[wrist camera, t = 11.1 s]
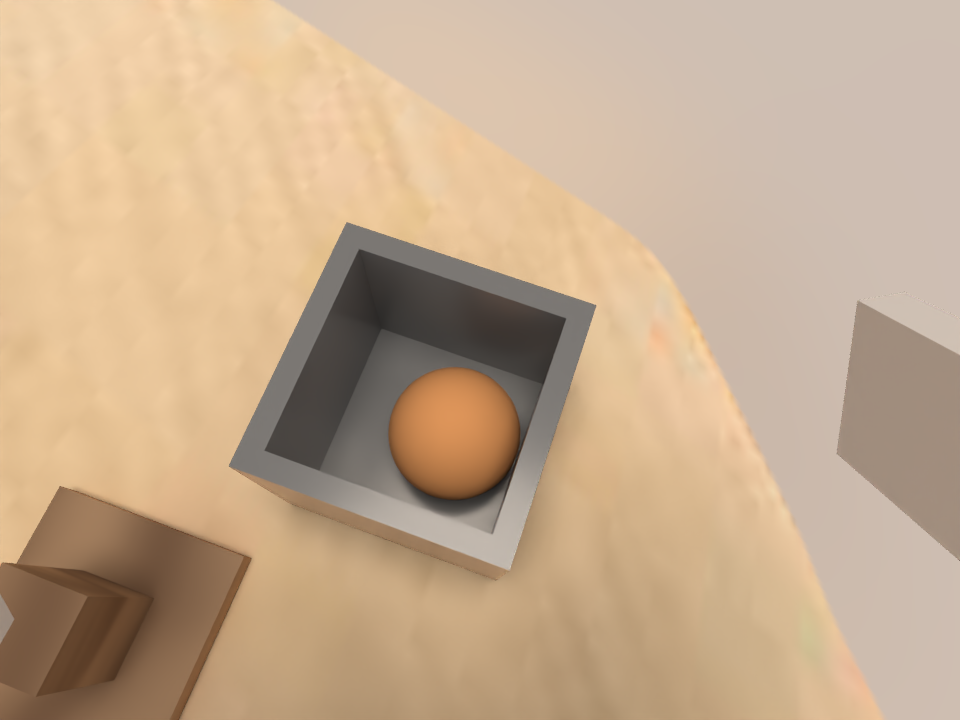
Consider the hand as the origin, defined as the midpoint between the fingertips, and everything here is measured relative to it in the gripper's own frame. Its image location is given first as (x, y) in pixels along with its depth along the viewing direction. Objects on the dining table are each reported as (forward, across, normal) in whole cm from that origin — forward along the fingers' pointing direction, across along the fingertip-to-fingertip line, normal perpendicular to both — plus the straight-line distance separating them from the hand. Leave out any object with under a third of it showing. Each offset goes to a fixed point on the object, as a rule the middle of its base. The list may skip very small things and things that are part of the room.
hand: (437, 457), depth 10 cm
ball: (+14, +1, -8) cm, 16 cm away
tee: (+13, -13, -14) cm, 23 cm away
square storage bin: (+17, 0, -10) cm, 20 cm away
